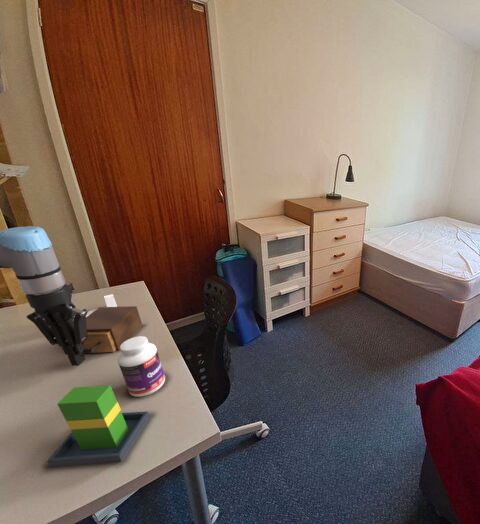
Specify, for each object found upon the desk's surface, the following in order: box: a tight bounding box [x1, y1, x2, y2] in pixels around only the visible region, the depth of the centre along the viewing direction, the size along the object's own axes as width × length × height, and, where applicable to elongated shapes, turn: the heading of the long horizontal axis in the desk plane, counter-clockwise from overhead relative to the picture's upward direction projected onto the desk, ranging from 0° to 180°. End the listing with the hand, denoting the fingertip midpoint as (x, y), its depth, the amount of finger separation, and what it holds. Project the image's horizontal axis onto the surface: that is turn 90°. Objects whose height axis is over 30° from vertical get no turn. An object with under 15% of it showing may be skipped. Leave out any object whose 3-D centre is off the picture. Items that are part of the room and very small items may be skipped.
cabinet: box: [86, 305, 143, 352], centre depth 90 cm, size 13×12×9 cm
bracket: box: [73, 293, 118, 321], centre depth 100 cm, size 13×7×8 cm, turn 134°
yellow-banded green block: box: [57, 385, 128, 450], centre depth 58 cm, size 7×4×14 cm, turn 96°
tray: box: [47, 411, 150, 468], centre depth 61 cm, size 13×10×2 cm
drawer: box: [81, 331, 116, 354], centre depth 87 cm, size 16×10×7 cm, turn 6°
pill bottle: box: [117, 335, 166, 398], centre depth 72 cm, size 8×8×14 cm
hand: (79, 362), depth 79 cm, fingers closed
